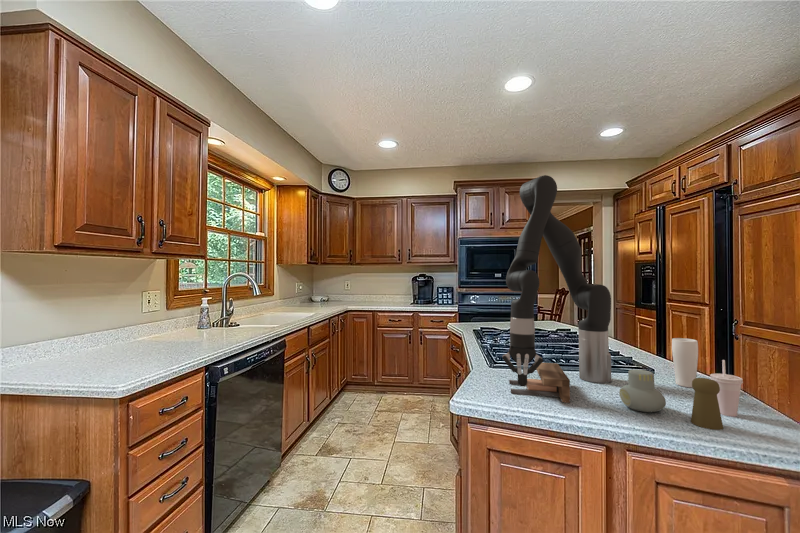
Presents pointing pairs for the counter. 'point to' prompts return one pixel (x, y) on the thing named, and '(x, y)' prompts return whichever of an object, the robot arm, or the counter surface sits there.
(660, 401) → the air freshener
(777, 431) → the counter surface
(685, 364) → the drinking glass
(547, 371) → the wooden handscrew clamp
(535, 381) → the light orange flat block
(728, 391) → the smoothie
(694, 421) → the cork
